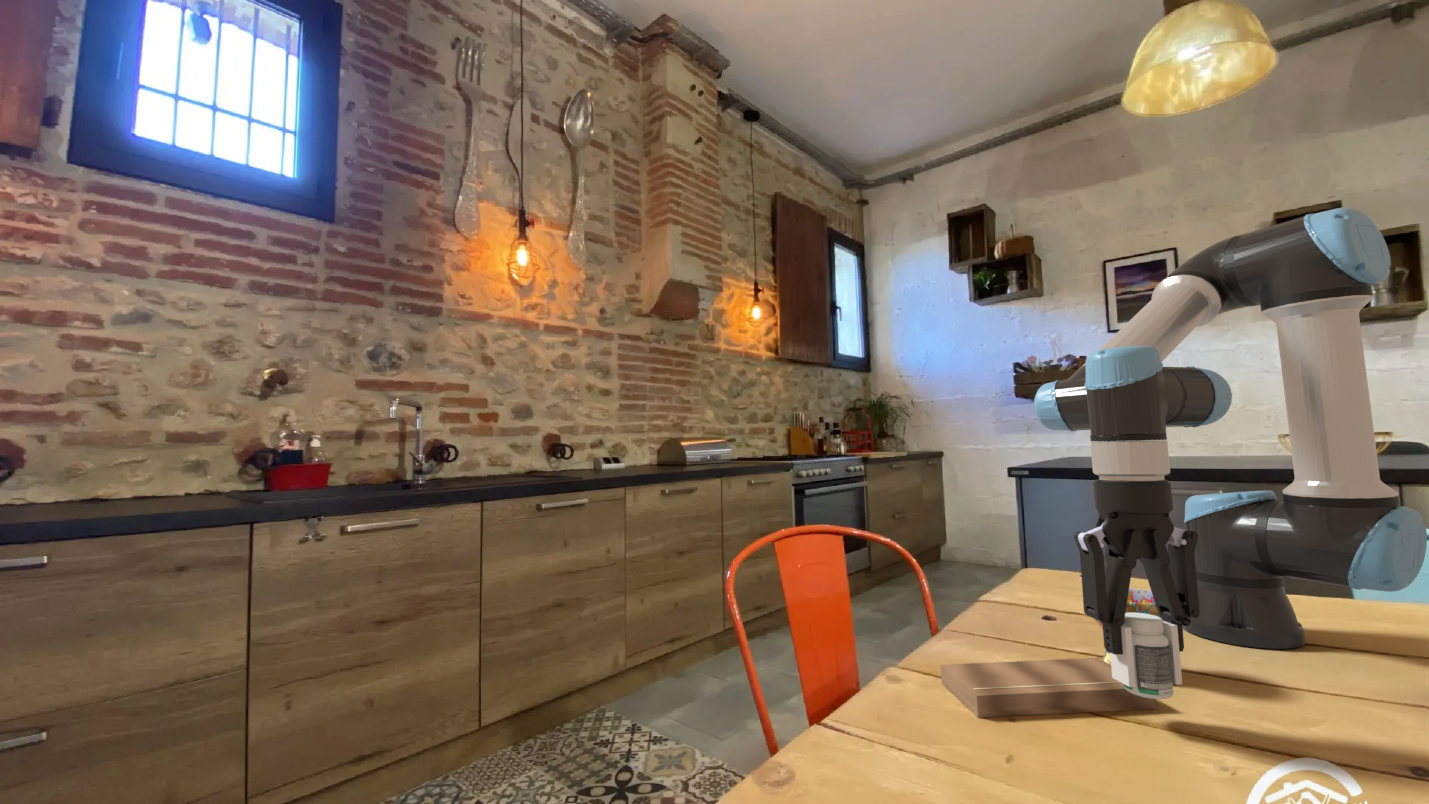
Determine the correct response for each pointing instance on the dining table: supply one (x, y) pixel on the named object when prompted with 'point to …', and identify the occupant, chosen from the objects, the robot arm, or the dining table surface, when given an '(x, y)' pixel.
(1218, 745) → the dining table surface
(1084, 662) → the board
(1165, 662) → the pill bottle
